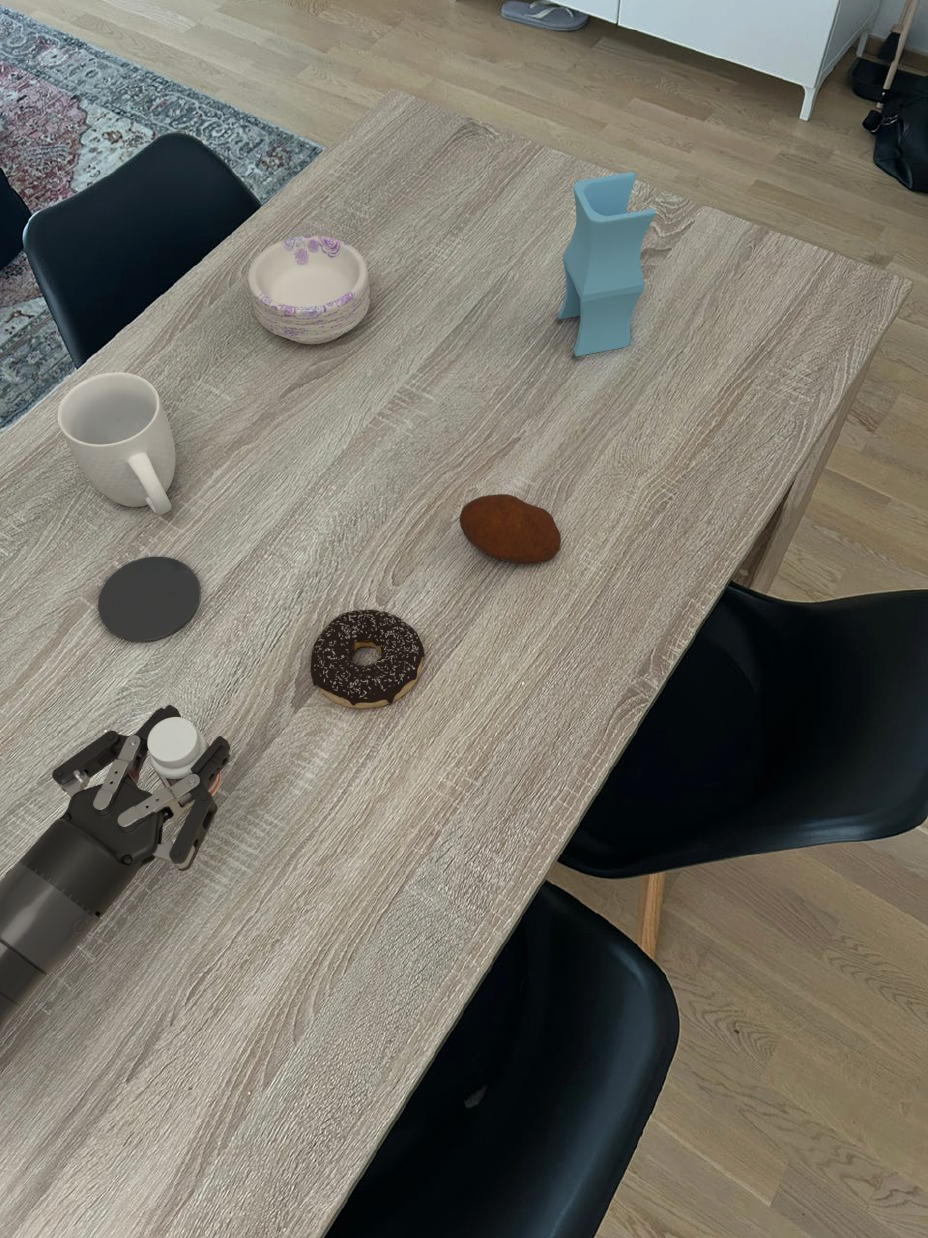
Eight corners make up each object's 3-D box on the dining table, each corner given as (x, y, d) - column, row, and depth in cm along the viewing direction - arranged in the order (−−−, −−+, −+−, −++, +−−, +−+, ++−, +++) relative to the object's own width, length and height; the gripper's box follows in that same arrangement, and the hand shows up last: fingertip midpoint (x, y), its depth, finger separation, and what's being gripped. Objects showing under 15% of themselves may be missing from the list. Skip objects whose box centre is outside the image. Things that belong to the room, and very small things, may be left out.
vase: (633, 345, 135) (657, 212, 118) (575, 356, 134) (590, 223, 117) (614, 305, 139) (634, 170, 122) (557, 315, 138) (569, 181, 121)
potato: (553, 585, 115) (558, 542, 108) (451, 568, 116) (450, 525, 109) (563, 531, 119) (569, 486, 112) (465, 515, 120) (464, 470, 113)
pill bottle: (232, 769, 91) (213, 726, 84) (201, 815, 89) (179, 775, 82) (187, 747, 92) (165, 703, 85) (155, 792, 90) (130, 750, 83)
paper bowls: (352, 269, 143) (346, 220, 136) (387, 343, 135) (383, 294, 128) (244, 297, 140) (233, 247, 133) (274, 373, 132) (263, 325, 126)
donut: (314, 625, 112) (309, 605, 109) (423, 619, 113) (422, 599, 109) (312, 716, 106) (307, 698, 103) (427, 710, 107) (426, 692, 103)
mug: (219, 516, 120) (193, 439, 109) (132, 560, 117) (96, 486, 106) (162, 436, 127) (133, 356, 116) (78, 476, 124) (39, 398, 113)
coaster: (88, 640, 112) (86, 637, 111) (112, 556, 117) (111, 554, 117) (189, 645, 111) (188, 642, 111) (209, 561, 117) (208, 558, 116)
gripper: (5, 863, 84) (147, 705, 92) (138, 960, 80) (275, 787, 88) (-32, 829, 78) (124, 663, 86) (110, 933, 74) (261, 749, 82)
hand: (200, 727), depth 87 cm, fingers closed on pill bottle, 4 cm apart
